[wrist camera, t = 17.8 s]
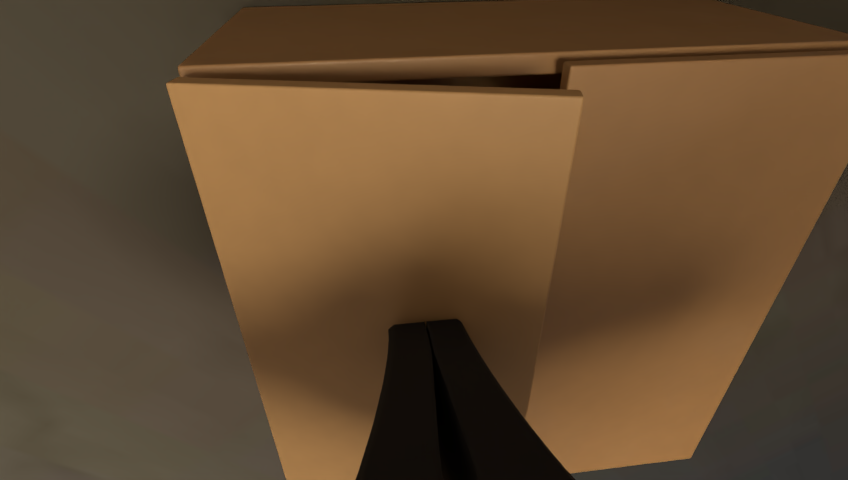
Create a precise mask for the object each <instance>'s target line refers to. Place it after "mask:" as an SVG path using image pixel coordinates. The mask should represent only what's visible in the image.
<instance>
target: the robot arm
mask: <svg viewBox="0 0 848 480" xmlns="http://www.w3.org/2000/svg"><path fill="white" fill-rule="evenodd" d="M388 336H389V342H388V354H387V362H386V368H385V374H384V379H383V385H382V389H381V393H380V397H379V402H378V406H377V410H376V414H375V418H374V422H373V426H372V429H371V432H370V436H369V439H368V442H367V445H366V448H365V452H364V455H363V458H362V461H361V465H360V468H359V471H358V474H357V477H356V480H575V479H574V478H573V477H572V476H571V474H570V473H569V472H568V471H567V470H566V469H565V468H564V466H563V465H562V464H561V463H560V462H559V461H558V459H557V458H556V457H555V456H554V455H553V453H552V452H551V451H550V450H549V449H548V447H547V446H546V445H545V444H544V442H543V441H542V440H541V439H540V437H539V436H538V435H537V434H536V433H535V431H534V430H533V429H532V428H531V426H530V425H529V424H528V422H527V421H526V420H525V418H524V417H523V416H522V415H521V413H520V412H519V410H518V409H517V408H516V406H515V405H514V404H513V402H512V401H511V399H510V398H509V397H508V395H507V394H506V393H505V391H504V390H503V388H502V387H501V386H500V384H499V383H498V381H497V380H496V378H495V377H494V375H493V374H492V372H491V371H490V369H489V368H488V366H487V365H486V363H485V362H484V360H483V358H482V357H481V355H480V354H479V352H478V350H477V349H476V347H475V345H474V344H473V342H472V340H471V338H470V337H469V335H468V333H467V331H466V329H465V327H464V325H463V323H462V322H461V321H459V320H458V319H448V320H438V321H427V322H426V325H425V322H416V323H405V324H395V325H393V326H392V327H390V328H389V329H388Z"/></svg>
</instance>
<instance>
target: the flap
mask: <svg viewBox="0 0 848 480" xmlns="http://www.w3.org/2000/svg"><path fill="white" fill-rule="evenodd" d="M166 87H167V90H168V93H169V96H170V100H171V103H172V106H173V110H174V113H175V116H176V119H177V123H178V126H179V129H180V133H181V136H182V139H183V142H184V146H185V149H186V152H187V155H188V159H189V162H190V165H191V169H192V172H193V175H194V178H195V182H196V185H197V188H198V192H199V195H200V198H201V201H202V205H203V208H204V211H205V215H206V218H207V221H208V224H209V228H210V231H211V234H212V238H213V241H214V244H215V247H216V251H217V254H218V257H219V261H220V264H221V267H222V270H223V274H224V277H225V280H226V283H227V287H228V290H229V293H230V297H231V300H232V303H233V306H234V310H235V313H236V316H237V320H238V323H239V326H240V329H241V333H242V336H243V339H244V343H245V346H246V349H247V352H248V356H249V359H250V362H251V366H252V369H253V372H254V375H255V379H256V382H257V385H258V388H259V392H260V395H261V398H262V402H263V405H264V408H265V411H266V415H267V418H268V421H269V425H270V428H271V431H272V434H273V438H274V441H275V444H276V448H277V451H278V454H279V457H280V461H281V464H282V467H283V471H284V474H285V477H286V480H356V477H357V474H358V471H359V468H360V465H361V461H362V458H363V455H364V452H365V448H366V445H367V442H368V439H369V436H370V432H371V429H372V426H373V422H374V418H375V414H376V410H377V406H378V402H379V397H380V393H381V389H382V385H383V379H384V374H385V368H386V362H387V354H388V342H389V336H388V329H389V328H390V327H392V326H393V325H395V324H405V323H416V322H425V325H426V322H427V321H438V320H448V319H458V320H459V321H461V322H462V323H463V325H464V327H465V329H466V331H467V333H468V335H469V337H470V338H471V340H472V342H473V344H474V345H475V347H476V349H477V350H478V352H479V354H480V355H481V357H482V358H483V360H484V362H485V363H486V365H487V366H488V368H489V369H490V371H491V372H492V374H493V375H494V377H495V378H496V380H497V381H498V383H499V384H500V386H501V387H502V388H503V390H504V391H505V393H506V394H507V395H508V397H509V398H510V399H511V401H512V402H513V404H514V405H515V406H516V408H517V409H518V410H519V412H520V413H521V415H522V416H523V417H524V418H525V420H526V415H527V410H528V404H529V399H530V393H531V388H532V382H533V377H534V371H535V366H536V360H537V355H538V349H539V344H540V339H541V333H542V328H543V322H544V317H545V311H546V306H547V300H548V295H549V289H550V284H551V278H552V273H553V267H554V262H555V256H556V251H557V245H558V240H559V234H560V229H561V223H562V218H563V212H564V207H565V201H566V196H567V190H568V185H569V179H570V174H571V168H572V163H573V157H574V152H575V147H576V141H577V136H578V130H579V125H580V119H581V114H582V108H583V103H584V96H583V94H582V92H581V91H580V90H565V89H534V88H502V87H471V86H440V85H408V84H377V83H346V82H314V81H283V80H252V79H220V78H189V77H177V78H175V79H173V80H171V81H169V82H167V83H166Z"/></svg>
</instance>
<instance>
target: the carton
mask: <svg viewBox="0 0 848 480" xmlns="http://www.w3.org/2000/svg"><path fill="white" fill-rule="evenodd" d="M178 71H179V75H180V77H189V78H220V79H252V80H283V81H314V82H346V83H377V84H408V85H440V86H471V87H502V88H534V89H565V90H580V91H581V92H582V94H583V96H584V103H583V108H582V114H581V119H580V125H579V130H578V136H577V141H576V147H575V152H574V157H573V163H572V168H571V174H570V179H569V185H568V190H567V196H566V201H565V207H564V212H563V218H562V223H561V229H560V234H559V240H558V245H557V251H556V256H555V262H554V267H553V273H552V278H551V284H550V289H549V295H548V300H547V306H546V311H545V317H544V322H543V328H542V333H541V339H540V344H539V349H538V355H537V360H536V366H535V371H534V377H533V382H532V388H531V393H530V399H529V404H528V410H527V415H526V421H527V422H528V424H529V425H530V426H531V428H532V429H533V430H534V431H535V433H536V434H537V435H538V436H539V437H540V439H541V440H542V441H543V442H544V444H545V445H546V446H547V447H548V449H549V450H550V451H551V452H552V453H553V455H554V456H555V457H556V458H557V459H558V461H559V462H560V463H561V464H562V465H563V466H564V468H565V469H566V470H567V471H568V472H569V473H577V472H585V471H593V470H601V469H609V468H616V467H624V466H632V465H640V464H648V463H656V462H664V461H672V460H680V459H688V458H691V456H692V454H693V452H694V451H695V449H696V447H697V445H698V443H699V441H700V439H701V437H702V435H703V434H704V432H705V430H706V428H707V426H708V424H709V422H710V420H711V419H712V417H713V415H714V413H715V411H716V409H717V407H718V405H719V404H720V402H721V400H722V398H723V396H724V394H725V392H726V390H727V389H728V387H729V385H730V383H731V381H732V379H733V377H734V375H735V373H736V372H737V370H738V368H739V366H740V364H741V362H742V360H743V358H744V357H745V355H746V353H747V351H748V349H749V347H750V345H751V343H752V342H753V340H754V338H755V336H756V334H757V332H758V330H759V328H760V327H761V325H762V323H763V321H764V319H765V317H766V315H767V313H768V311H769V310H770V308H771V306H772V304H773V302H774V300H775V298H776V296H777V295H778V293H779V291H780V289H781V287H782V285H783V283H784V281H785V280H786V278H787V276H788V274H789V272H790V270H791V268H792V266H793V265H794V263H795V261H796V259H797V257H798V255H799V253H800V251H801V249H802V248H803V246H804V244H805V242H806V240H807V238H808V236H809V234H810V233H811V231H812V229H813V227H814V225H815V223H816V221H817V219H818V218H819V216H820V214H821V212H822V210H823V208H824V206H825V204H826V203H827V201H828V199H829V197H830V195H831V193H832V191H833V189H834V188H835V186H836V184H837V182H838V180H839V178H840V176H841V174H842V172H843V171H844V169H845V167H846V165H847V163H848V34H847V33H843V32H839V31H835V30H831V29H827V28H823V27H819V26H815V25H811V24H807V23H803V22H799V21H795V20H791V19H787V18H783V17H779V16H775V15H771V14H767V13H763V12H759V11H755V10H751V9H747V8H743V7H739V6H735V5H731V4H727V3H723V2H719V1H715V0H504V1H466V2H428V3H390V4H352V5H315V6H277V7H243V8H242V9H241V10H240V11H239V12H238V13H236V14H235V15H234V16H233V17H232V18H231V19H230V20H229V21H228V22H226V23H225V24H224V25H223V26H222V27H221V28H220V29H219V30H218V31H216V32H215V33H214V34H213V35H212V36H211V37H210V38H209V39H208V40H207V41H205V42H204V43H203V44H202V45H201V46H200V47H199V48H198V49H197V50H195V51H194V52H193V53H192V54H191V55H190V56H189V57H188V58H187V59H185V60H184V61H183V62H182V63H181V64H180V65H179V66H178Z"/></svg>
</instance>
